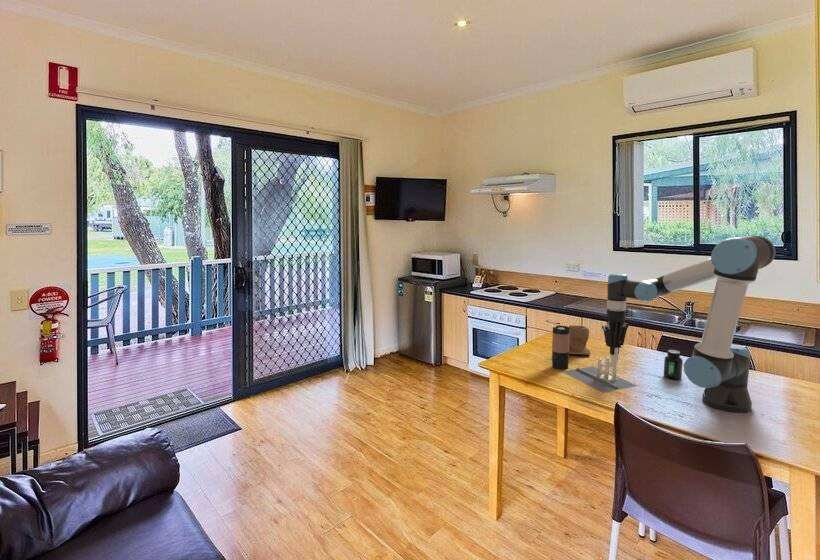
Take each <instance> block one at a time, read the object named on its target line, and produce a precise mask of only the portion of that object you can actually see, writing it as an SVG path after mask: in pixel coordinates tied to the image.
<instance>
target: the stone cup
mask: <svg viewBox="0 0 820 560" xmlns="http://www.w3.org/2000/svg"><path fill="white" fill-rule="evenodd" d="M568 327H569V355H576V356H577V355H580V356H582V355H584V356H585V355H591V353H592V351H591V350H590V349H588V348H587V344H588V343H587V342H588V340H589V337H590V329H589V327H587V326H584V325H576V324H574V325H572V324H571V325H569V326H568Z"/></svg>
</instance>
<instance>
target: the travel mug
mask: <svg viewBox="0 0 820 560" xmlns="http://www.w3.org/2000/svg"><path fill="white" fill-rule="evenodd" d="M551 344H552V346H551V352H552V353H551V358H552V359H551V360H552V362H551V363H552V364H551V366H552V369H555V370H560V371H567V370H568V369H569V361H570V360H569V359H570V354H569V326H566V325H556V326H553V327H552V343H551Z"/></svg>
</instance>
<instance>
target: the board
mask: <svg viewBox="0 0 820 560" xmlns="http://www.w3.org/2000/svg"><path fill="white" fill-rule="evenodd" d="M561 372H562V373H564V374H566V375H568V376H569V377H571V378H574V379H575V380H578V381H579V382H581V383H583V384H585V385H587V386H589V387H591V388H593V389H595V390H597V391H600V392H601V393H604V394H605V393H608V392H610V393H611V392H614V391H618V390H624V389H628V388H629V389H630V388H634V387H635V388H636V387H638V385H636V384H634V383H633V382H630V381H627V380H625V379H624V378H621V377H619V376H617V375H616V378H617V380H616V381H611V382H608V381H606V380H604V379H602V378H600V377H598V376H597V373H598V367H596V366H594V365H591V366H586V367H581V368H580V367H576V368H575V369H569V370H568V369H567V370H561ZM604 374H605V370H603V369H602V371H601V375H604ZM609 375H611V376H612V373H610V372H609Z"/></svg>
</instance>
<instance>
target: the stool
mask: <svg viewBox="0 0 820 560" xmlns="http://www.w3.org/2000/svg"><path fill="white" fill-rule="evenodd" d="M617 363H618V362H617V360H613V362H612V361H610V357H609V356H606V357H605V360H603V359H602V358H597V368H598V373H597V376H598V377H600V378H602V379H604V380H606V381H608V382H611V381H616V380H617V378H616V376H617V365H618V364H617ZM602 367H603V368H604V371H605V374H604V375H601V371H602V370H603V369H602ZM610 368H611V369H612V371H611V374H612V376H611V375H609V373H610Z"/></svg>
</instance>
